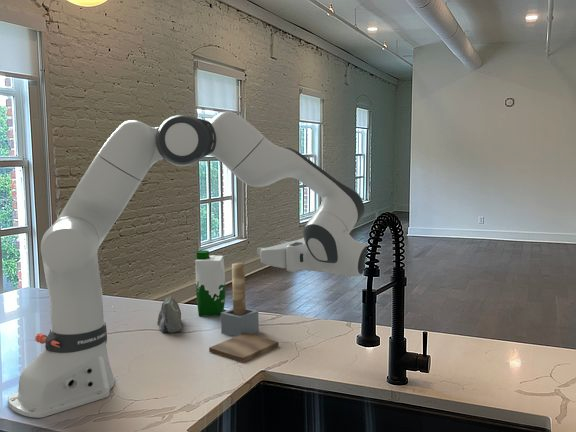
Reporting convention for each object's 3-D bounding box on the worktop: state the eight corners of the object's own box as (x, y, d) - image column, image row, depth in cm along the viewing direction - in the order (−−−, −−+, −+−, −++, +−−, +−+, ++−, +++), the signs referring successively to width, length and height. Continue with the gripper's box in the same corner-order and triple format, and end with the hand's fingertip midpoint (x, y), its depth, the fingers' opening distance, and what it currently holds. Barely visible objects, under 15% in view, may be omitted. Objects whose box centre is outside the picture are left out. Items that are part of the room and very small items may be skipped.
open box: (240, 338, 160) (240, 317, 159) (221, 333, 164) (220, 312, 164) (258, 331, 166) (258, 310, 165) (239, 325, 170) (239, 306, 169)
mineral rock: (171, 318, 179) (169, 286, 178) (200, 322, 175) (199, 290, 173) (145, 331, 167) (143, 297, 166) (176, 335, 163) (174, 301, 162)
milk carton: (200, 308, 188) (197, 248, 185) (227, 308, 188) (225, 248, 185) (195, 317, 179) (192, 254, 176) (223, 316, 179) (221, 254, 176)
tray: (242, 362, 143) (242, 357, 143) (209, 351, 150) (209, 347, 150) (278, 346, 154) (278, 341, 153) (245, 336, 161) (245, 332, 161)
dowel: (240, 335, 162) (238, 266, 160) (231, 332, 165) (229, 264, 162) (248, 331, 165) (247, 263, 162) (239, 329, 167) (237, 262, 165)
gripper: (334, 234, 153) (293, 230, 162) (286, 247, 137) (244, 242, 146) (334, 258, 154) (294, 252, 162) (287, 273, 138) (245, 266, 147)
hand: (270, 247), depth 154 cm, fingers open, 8 cm apart
